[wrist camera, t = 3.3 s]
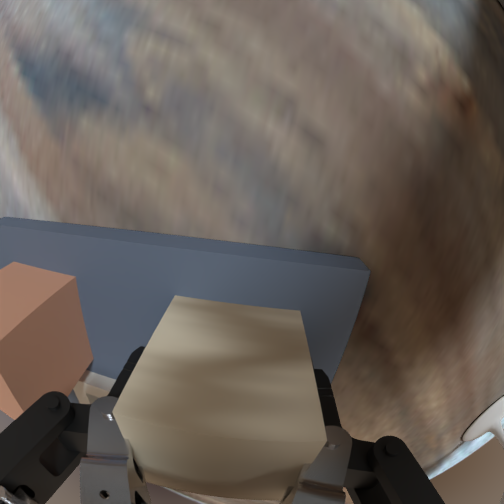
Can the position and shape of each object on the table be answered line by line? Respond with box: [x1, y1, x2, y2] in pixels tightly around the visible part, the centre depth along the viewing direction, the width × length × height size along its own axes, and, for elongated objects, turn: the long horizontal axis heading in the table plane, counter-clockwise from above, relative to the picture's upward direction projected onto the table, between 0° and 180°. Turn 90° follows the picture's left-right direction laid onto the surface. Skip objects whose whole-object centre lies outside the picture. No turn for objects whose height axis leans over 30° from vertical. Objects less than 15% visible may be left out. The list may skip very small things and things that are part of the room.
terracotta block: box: [0, 262, 94, 420], centre depth 8 cm, size 5×5×6 cm
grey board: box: [0, 217, 371, 404], centre depth 13 cm, size 20×17×2 cm
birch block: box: [112, 295, 327, 500], centre depth 9 cm, size 5×5×6 cm
